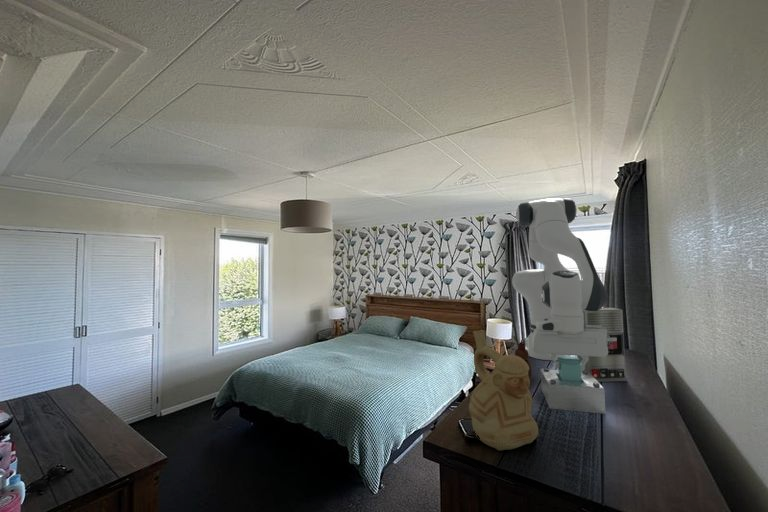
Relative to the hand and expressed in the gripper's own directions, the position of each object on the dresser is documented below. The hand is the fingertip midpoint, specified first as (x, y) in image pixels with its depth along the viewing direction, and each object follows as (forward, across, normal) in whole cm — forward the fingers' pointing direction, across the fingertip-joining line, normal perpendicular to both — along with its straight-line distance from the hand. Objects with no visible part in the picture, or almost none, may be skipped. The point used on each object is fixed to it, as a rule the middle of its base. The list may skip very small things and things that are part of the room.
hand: (569, 369), depth 97 cm
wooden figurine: (+10, +12, -15) cm, 22 cm away
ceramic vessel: (+10, +21, +26) cm, 35 cm away
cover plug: (+10, 0, 0) cm, 10 cm away
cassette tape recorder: (+10, -15, -22) cm, 28 cm away
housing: (+10, 0, 0) cm, 10 cm away
